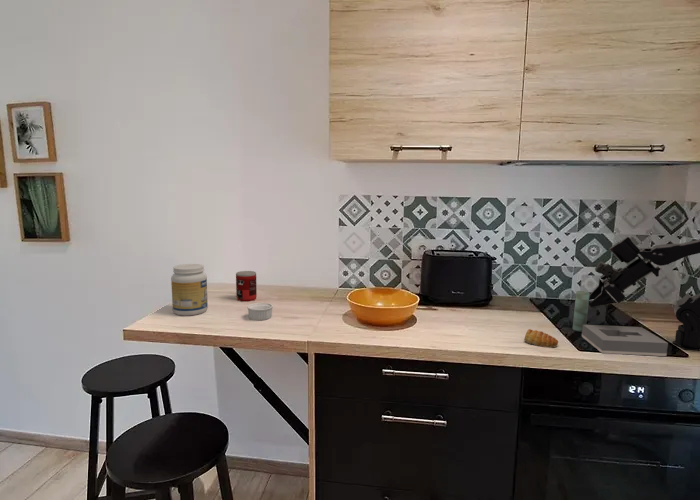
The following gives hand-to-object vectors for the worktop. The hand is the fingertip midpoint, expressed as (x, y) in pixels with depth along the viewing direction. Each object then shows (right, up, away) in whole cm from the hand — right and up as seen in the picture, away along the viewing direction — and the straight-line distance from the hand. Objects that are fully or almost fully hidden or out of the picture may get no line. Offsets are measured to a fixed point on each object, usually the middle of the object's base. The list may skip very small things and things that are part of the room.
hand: (589, 302), depth 150 cm
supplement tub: (-138, -5, +15) cm, 139 cm away
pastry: (-21, -12, -10) cm, 26 cm away
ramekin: (-112, -7, +9) cm, 112 cm away
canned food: (-122, -3, +32) cm, 126 cm away
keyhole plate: (+4, -12, -12) cm, 17 cm away
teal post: (-2, -10, +2) cm, 10 cm away
